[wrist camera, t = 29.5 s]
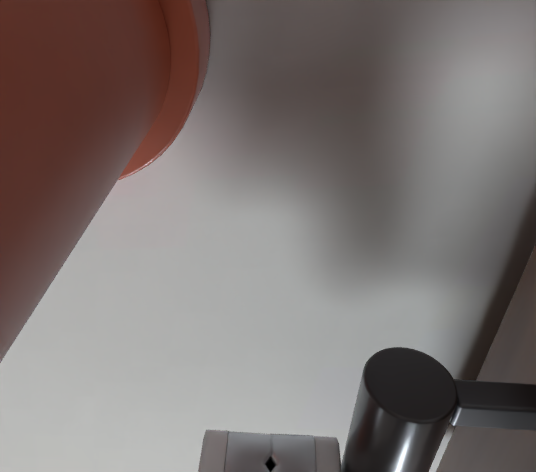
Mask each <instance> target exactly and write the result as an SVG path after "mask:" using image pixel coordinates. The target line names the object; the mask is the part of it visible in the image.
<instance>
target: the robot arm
mask: <svg viewBox="0 0 536 472" xmlns="http://www.w3.org/2000/svg"><path fill="white" fill-rule="evenodd" d="M198 472H342V471H341V461H340V450H339V443H338V440H337V438H336V437H319V436H310V435H287V434H261V433H245V432H229V431H220V430H206V432H205V435H204V439H203V445H202V451H201V457H200V463H199V469H198Z"/></svg>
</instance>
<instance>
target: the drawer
mask: <svg viewBox="0 0 536 472" xmlns="http://www.w3.org/2000/svg"><path fill="white" fill-rule="evenodd" d="M449 422H450V423H451V425H453V426H456V427H455V429H454V432H453V434H452V436H451V439H450V441H449V443H448V445H447V448H446V450H445V452H444V455H443V457H442V459H441V461H440V464H439V466H438V468H437V471H436V472H536V244H535V247H534V249H533V251H532V254H531V256H530V258H529V260H528V263H527V265H526V267H525V270H524V272H523V274H522V276H521V279H520V281H519V283H518V286H517V288H516V290H515V292H514V295H513V297H512V299H511V302H510V304H509V306H508V308H507V311H506V313H505V315H504V318H503V320H502V322H501V324H500V327H499V329H498V331H497V334H496V336H495V338H494V340H493V343H492V345H491V347H490V350H489V352H488V354H487V356H486V359H485V361H484V363H483V366H482V368H481V370H480V372H479V375H478V377H477V379H476V381H472V380H455V379H453V378H452V376H451V375H450V373H449V372H448V371H447V369H446V368H445V367H444V366H443V365H442V364H440V363H439V362H438V361H437V360H435V359H434V358H432V357H431V356H429V355H427V354H425V353H423V352H420V351H417V350H414V349H409V348H402V347H394V348H387V349H384V350H381V351H379V352H377V353H376V354H374V355H373V356H372V357H371V358H370V359H369V360H368V361H367V362H366V364H365V366H364V370H363V374H362V378H361V382H360V387H359V391H358V395H357V400H356V404H355V408H354V412H353V417H352V421H351V425H350V430H349V434H348V438H347V443H346V447H345V451H344V455H343V460H342V464H341V471H342V472H429V469H430V467H431V465H432V462H433V460H434V458H435V455H436V453H437V450H438V448H439V446H440V443H441V441H442V439H443V436H444V434H445V432H446V429H447V427H448V424H449Z"/></svg>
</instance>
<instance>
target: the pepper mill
mask: <svg viewBox="0 0 536 472" xmlns="http://www.w3.org/2000/svg"><path fill="white" fill-rule="evenodd" d="M209 53H210V27H209V15H208V10H207V5H206V0H0V362H1V361H2V359H3V358H4V356H5V355H6V353H7V351H8V350H9V348H10V347H11V345H12V344H13V342H14V341H15V339H16V337H17V336H18V334H19V333H20V331H21V330H22V328H23V327H24V325H25V323H26V322H27V320H28V319H29V317H30V316H31V314H32V312H33V311H34V309H35V308H36V306H37V305H38V303H39V302H40V300H41V298H42V297H43V295H44V294H45V292H46V291H47V289H48V287H49V286H50V284H51V283H52V281H53V280H54V278H55V277H56V275H57V273H58V272H59V270H60V269H61V267H62V266H63V264H64V263H65V261H66V259H67V258H68V256H69V255H70V253H71V252H72V250H73V248H74V247H75V245H76V244H77V242H78V241H79V239H80V238H81V236H82V234H83V233H84V231H85V230H86V228H87V227H88V225H89V224H90V222H91V220H92V219H93V217H94V216H95V214H96V213H97V211H98V209H99V208H100V206H101V205H102V203H103V202H104V200H105V199H106V197H107V195H108V194H109V192H110V191H111V189H112V188H113V186H114V185H115V183H116V181H117V180H120V179H122V178H125V177H127V176H130V175H132V174H134V173H136V172H138V171H140V170H141V169H143V168H145V167H146V166H148V165H149V164H151V163H152V162H153V161H154V160H156V159H157V158H158V157H159V156H161V155H162V154H163V153H164V151H165V150H166V149H167V148H168V147H169V146H170V145H171V144H172V143H173V141H174V140H175V138H176V137H177V135H178V134H179V132H180V131H181V129H182V128H183V126H184V124H185V122H186V120H187V118H188V116H189V114H190V112H191V110H192V108H193V106H194V104H195V101H196V99H197V97H198V95H199V93H200V91H201V88H202V85H203V82H204V79H205V75H206V72H207V66H208V60H209Z"/></svg>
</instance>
